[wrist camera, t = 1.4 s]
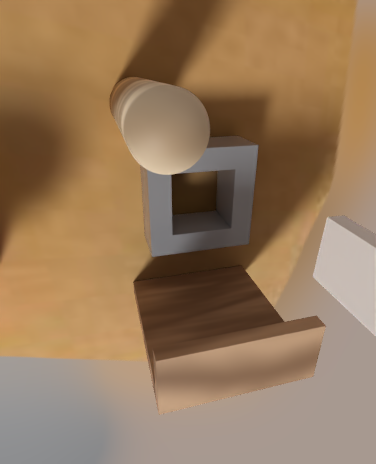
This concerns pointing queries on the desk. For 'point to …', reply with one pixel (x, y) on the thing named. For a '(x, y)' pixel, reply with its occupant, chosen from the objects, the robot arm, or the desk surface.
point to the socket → (211, 222)
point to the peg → (160, 124)
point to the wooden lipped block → (219, 338)
